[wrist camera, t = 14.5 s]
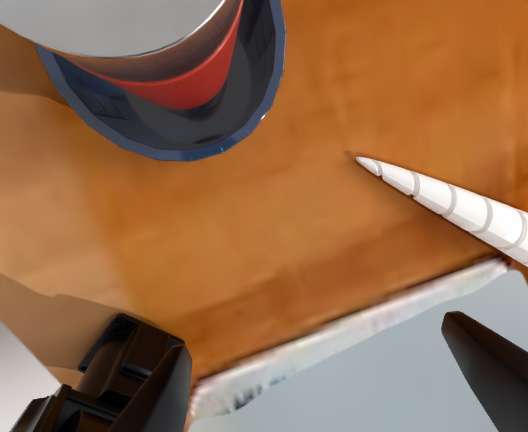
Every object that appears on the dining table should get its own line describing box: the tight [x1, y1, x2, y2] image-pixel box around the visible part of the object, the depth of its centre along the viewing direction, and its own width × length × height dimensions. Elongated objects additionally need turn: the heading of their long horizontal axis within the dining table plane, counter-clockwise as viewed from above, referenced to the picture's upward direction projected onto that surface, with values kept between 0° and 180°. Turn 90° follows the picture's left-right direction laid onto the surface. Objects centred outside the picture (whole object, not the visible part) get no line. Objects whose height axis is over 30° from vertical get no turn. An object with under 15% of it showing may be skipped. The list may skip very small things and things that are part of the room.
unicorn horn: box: [356, 157, 528, 267], centre depth 21 cm, size 5×24×5 cm, turn 63°
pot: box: [33, 0, 286, 162], centre depth 14 cm, size 11×11×5 cm
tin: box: [0, 0, 244, 113], centre depth 10 cm, size 6×6×13 cm
